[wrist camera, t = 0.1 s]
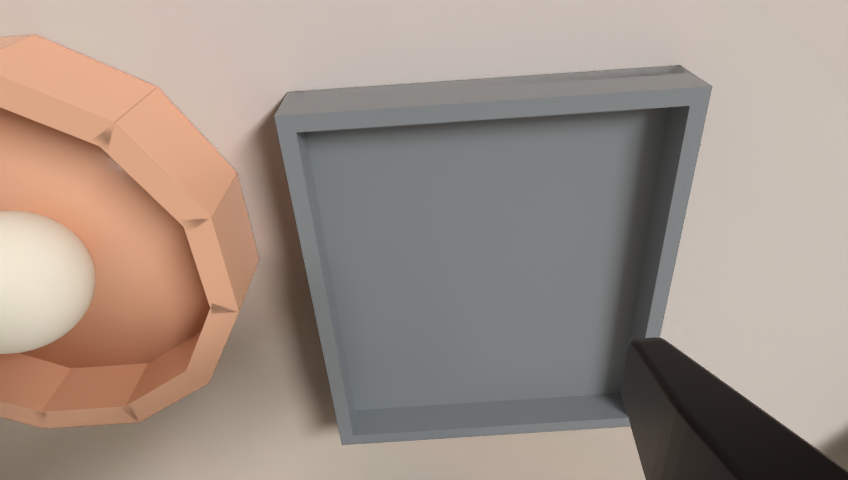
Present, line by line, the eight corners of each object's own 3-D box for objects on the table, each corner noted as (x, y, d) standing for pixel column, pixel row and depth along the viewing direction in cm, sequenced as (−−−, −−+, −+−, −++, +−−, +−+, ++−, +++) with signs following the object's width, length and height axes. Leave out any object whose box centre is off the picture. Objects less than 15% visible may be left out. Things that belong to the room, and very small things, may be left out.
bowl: (283, 355, 27) (269, 413, 24) (-32, 376, 27) (-85, 437, 24) (199, 23, 19) (161, 49, 16) (-246, 54, 19) (-366, 85, 16)
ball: (135, 290, 24) (77, 380, 19) (15, 299, 24) (-70, 389, 19) (91, 181, 21) (11, 257, 17) (-45, 190, 21) (-159, 268, 17)
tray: (623, 385, 29) (640, 425, 27) (346, 403, 29) (341, 444, 27) (679, 65, 20) (712, 86, 18) (287, 92, 20) (273, 116, 18)
